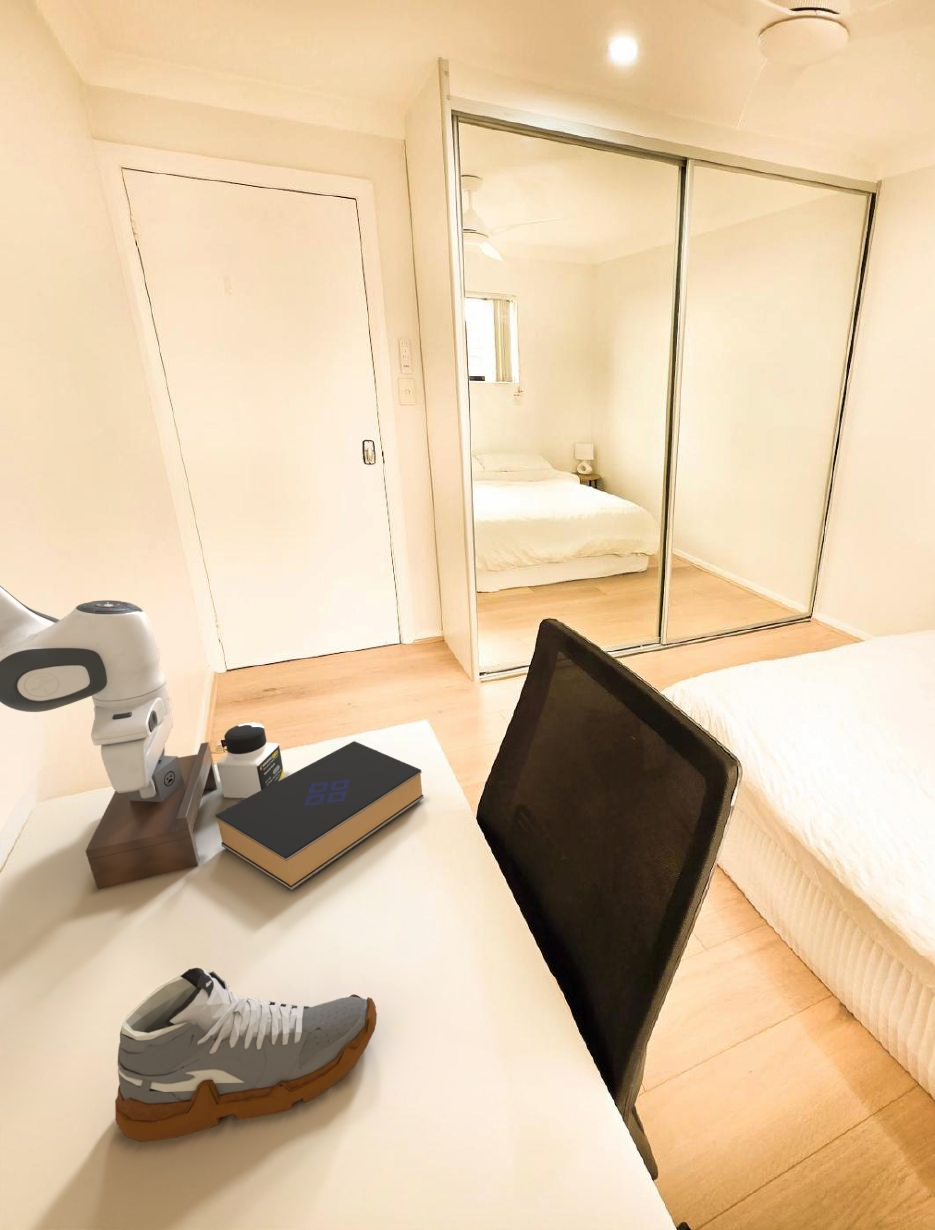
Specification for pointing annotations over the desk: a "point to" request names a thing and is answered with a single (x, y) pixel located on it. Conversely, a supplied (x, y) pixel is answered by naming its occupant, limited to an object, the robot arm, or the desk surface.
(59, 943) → the desk surface
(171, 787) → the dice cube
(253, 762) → the medicine bottle
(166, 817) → the wooden cradle stand
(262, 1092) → the sneaker
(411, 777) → the book
